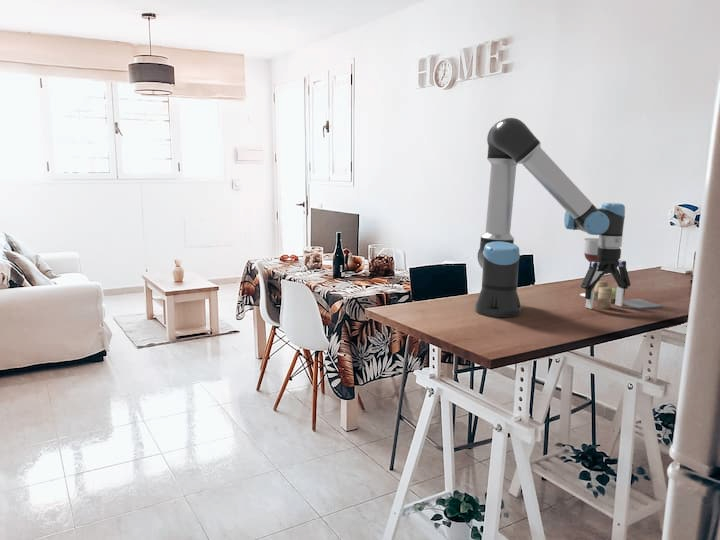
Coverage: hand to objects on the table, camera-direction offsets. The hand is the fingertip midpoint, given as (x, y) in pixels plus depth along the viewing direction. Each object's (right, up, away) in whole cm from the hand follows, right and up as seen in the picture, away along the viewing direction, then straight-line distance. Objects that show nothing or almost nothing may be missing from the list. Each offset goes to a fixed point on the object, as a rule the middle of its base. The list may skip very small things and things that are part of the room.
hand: (603, 306), depth 201 cm
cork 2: (0, 0, 0) cm, 0 cm away
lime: (+9, +2, +12) cm, 16 cm away
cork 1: (+3, +2, +12) cm, 12 cm away
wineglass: (+3, +3, +19) cm, 19 cm away
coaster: (+15, 0, +5) cm, 16 cm away
